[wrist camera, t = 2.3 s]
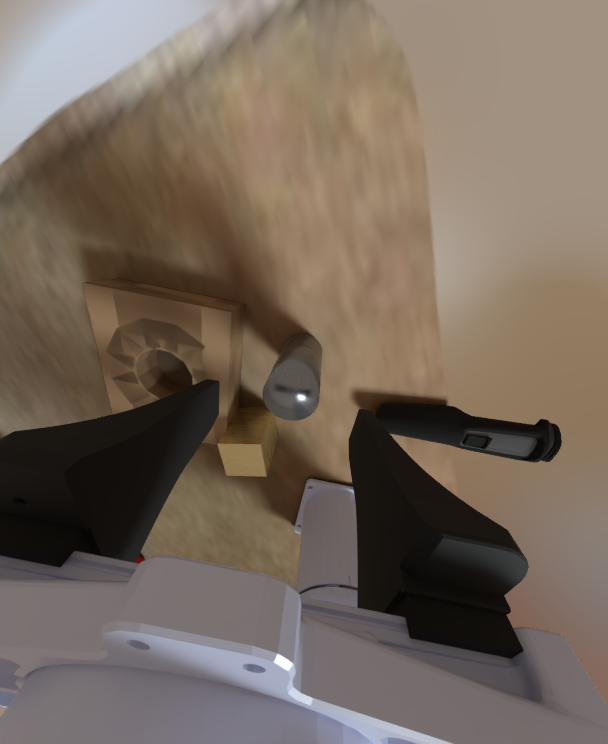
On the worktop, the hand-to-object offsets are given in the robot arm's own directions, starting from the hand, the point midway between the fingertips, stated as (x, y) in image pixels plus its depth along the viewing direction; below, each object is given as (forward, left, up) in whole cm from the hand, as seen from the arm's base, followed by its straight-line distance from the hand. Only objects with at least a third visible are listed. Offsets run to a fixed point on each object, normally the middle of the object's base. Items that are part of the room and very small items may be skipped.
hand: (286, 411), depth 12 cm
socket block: (-3, +10, -8) cm, 13 cm away
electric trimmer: (-4, -15, -9) cm, 18 cm away
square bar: (-8, +3, -8) cm, 12 cm away
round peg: (0, 0, -8) cm, 8 cm away
